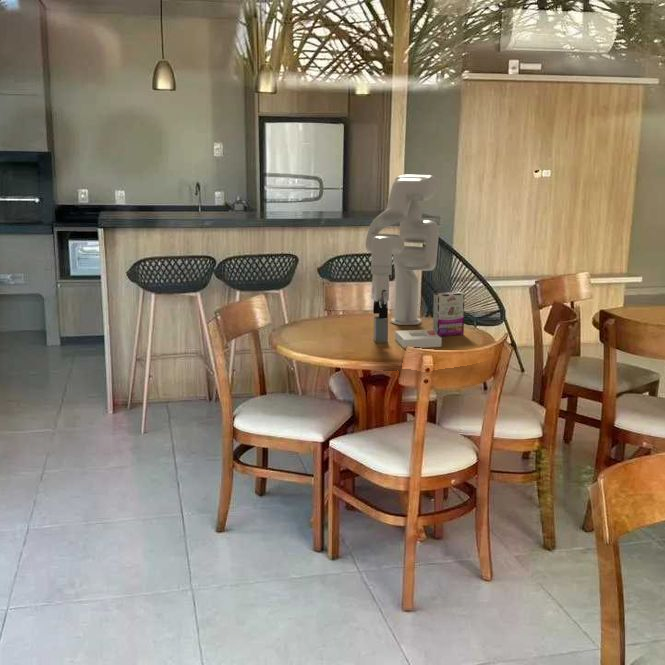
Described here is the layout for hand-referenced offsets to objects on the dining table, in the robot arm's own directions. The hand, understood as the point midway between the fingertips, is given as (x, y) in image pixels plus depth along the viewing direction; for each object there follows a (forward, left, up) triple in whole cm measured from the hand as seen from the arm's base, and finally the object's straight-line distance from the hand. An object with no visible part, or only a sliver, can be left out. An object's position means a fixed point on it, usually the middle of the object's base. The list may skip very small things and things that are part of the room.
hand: (380, 315), depth 285 cm
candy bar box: (-7, +28, -10) cm, 31 cm away
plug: (-1, 0, -10) cm, 10 cm away
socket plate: (+4, +13, -10) cm, 17 cm away
